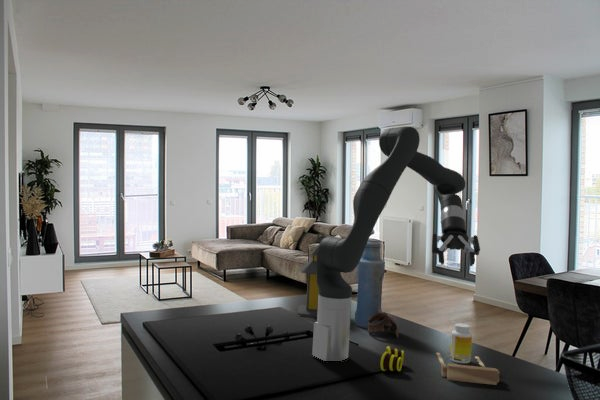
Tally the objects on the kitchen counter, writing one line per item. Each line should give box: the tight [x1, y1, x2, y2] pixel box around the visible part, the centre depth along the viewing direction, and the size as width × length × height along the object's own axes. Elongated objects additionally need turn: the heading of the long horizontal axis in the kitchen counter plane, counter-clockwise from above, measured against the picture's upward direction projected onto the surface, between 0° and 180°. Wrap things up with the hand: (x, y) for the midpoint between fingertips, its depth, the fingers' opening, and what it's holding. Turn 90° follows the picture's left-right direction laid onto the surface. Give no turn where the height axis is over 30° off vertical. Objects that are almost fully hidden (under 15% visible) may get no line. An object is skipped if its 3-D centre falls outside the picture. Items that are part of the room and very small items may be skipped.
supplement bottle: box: [449, 322, 473, 365], centre depth 145 cm, size 6×6×10 cm
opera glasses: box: [379, 345, 405, 372], centre depth 136 cm, size 10×5×5 cm, turn 162°
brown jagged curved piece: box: [367, 311, 399, 338], centre depth 169 cm, size 12×10×8 cm
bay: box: [435, 352, 501, 386], centre depth 139 cm, size 22×14×4 cm, turn 172°
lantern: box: [297, 232, 325, 318], centre depth 193 cm, size 14×14×30 cm
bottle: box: [354, 238, 386, 329], centre depth 178 cm, size 10×10×30 cm
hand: (457, 264), depth 156 cm, fingers open, 8 cm apart
